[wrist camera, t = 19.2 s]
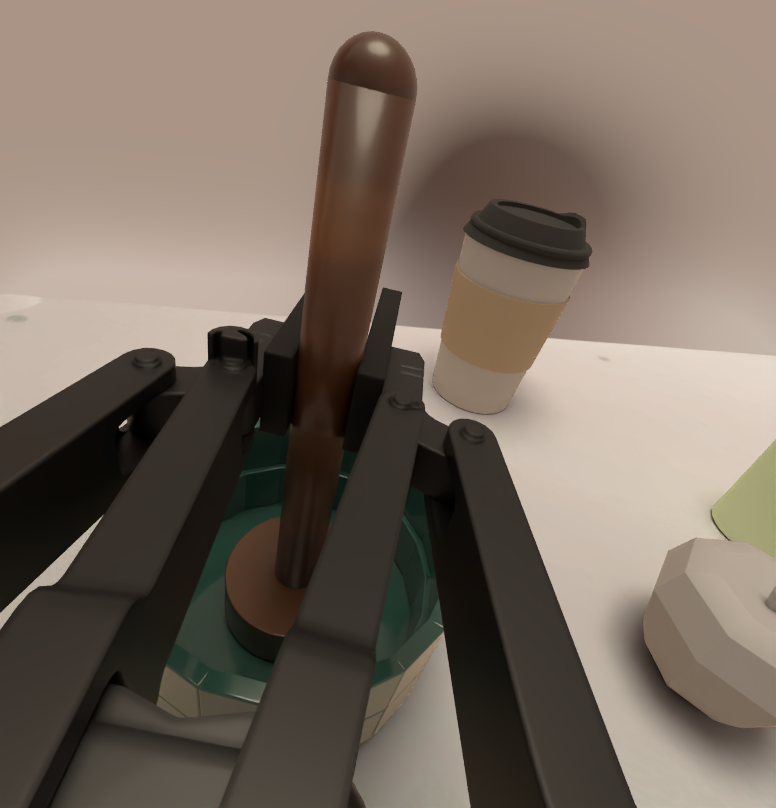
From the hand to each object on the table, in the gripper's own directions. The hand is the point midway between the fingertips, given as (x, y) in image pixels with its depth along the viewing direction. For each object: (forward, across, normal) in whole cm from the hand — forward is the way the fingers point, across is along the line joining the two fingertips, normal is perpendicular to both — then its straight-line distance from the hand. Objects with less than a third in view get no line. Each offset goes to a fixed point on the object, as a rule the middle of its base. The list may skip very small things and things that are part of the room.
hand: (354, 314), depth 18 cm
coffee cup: (+17, +10, -12) cm, 23 cm away
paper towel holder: (-6, 0, -11) cm, 12 cm away
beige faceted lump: (-4, +19, -12) cm, 23 cm away
